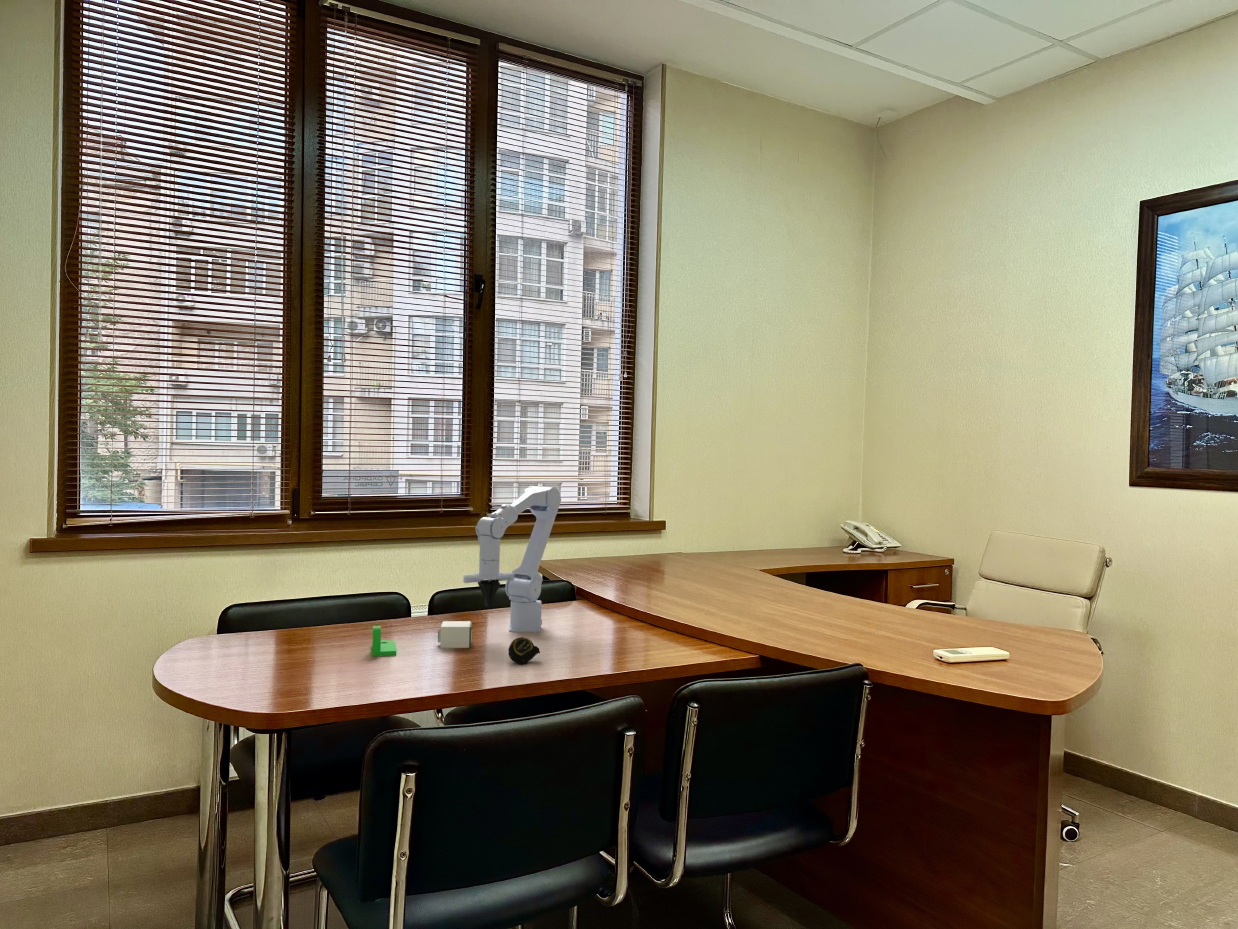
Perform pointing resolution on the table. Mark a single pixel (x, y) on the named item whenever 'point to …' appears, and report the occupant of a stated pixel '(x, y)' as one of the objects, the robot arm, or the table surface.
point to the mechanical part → (382, 644)
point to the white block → (456, 634)
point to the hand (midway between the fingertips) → (488, 606)
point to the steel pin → (440, 635)
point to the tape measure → (522, 650)
